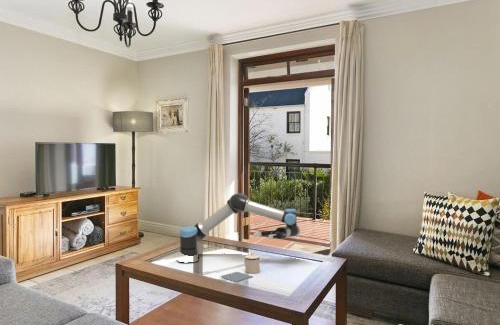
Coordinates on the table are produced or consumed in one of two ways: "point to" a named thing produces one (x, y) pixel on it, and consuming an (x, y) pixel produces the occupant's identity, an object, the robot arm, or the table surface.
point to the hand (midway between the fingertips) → (261, 236)
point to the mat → (236, 276)
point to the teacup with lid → (252, 263)
